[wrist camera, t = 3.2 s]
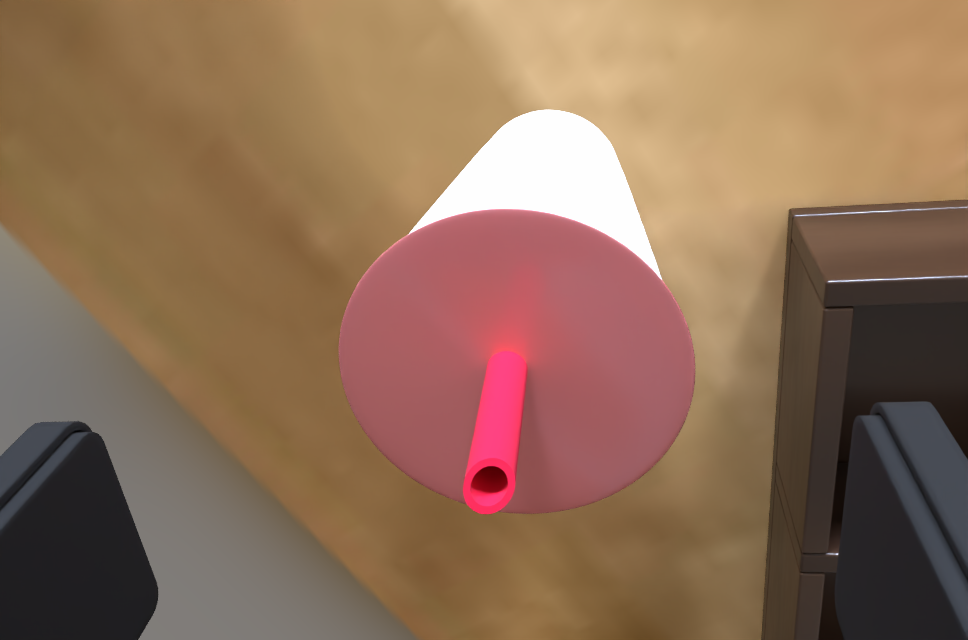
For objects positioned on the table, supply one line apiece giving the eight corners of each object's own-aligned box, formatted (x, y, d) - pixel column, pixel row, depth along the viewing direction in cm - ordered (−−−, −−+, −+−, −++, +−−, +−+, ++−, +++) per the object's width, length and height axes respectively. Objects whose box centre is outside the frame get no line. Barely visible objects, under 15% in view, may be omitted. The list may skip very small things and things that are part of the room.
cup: (545, 14, 19) (464, 216, 8) (710, 177, 20) (820, 529, 10) (395, 181, 21) (187, 502, 11) (552, 318, 22) (502, 724, 12)
